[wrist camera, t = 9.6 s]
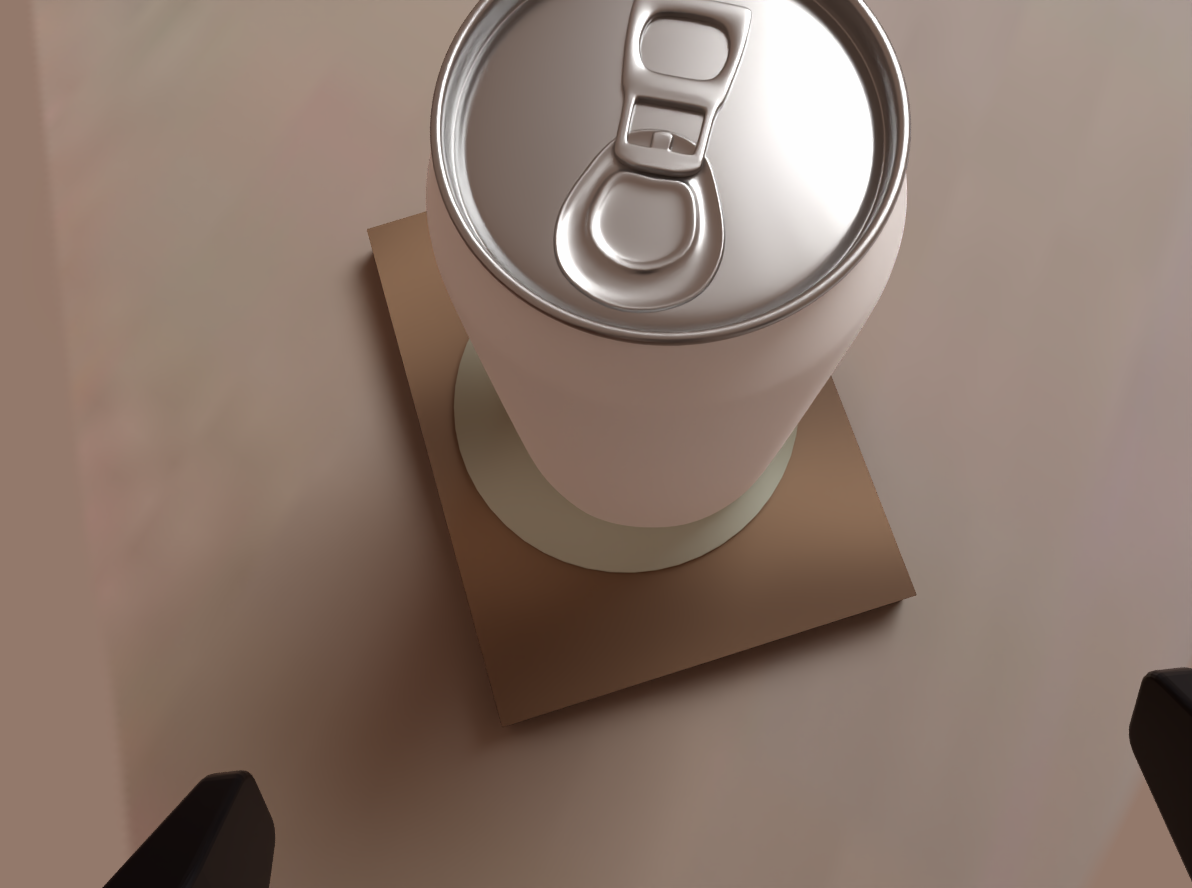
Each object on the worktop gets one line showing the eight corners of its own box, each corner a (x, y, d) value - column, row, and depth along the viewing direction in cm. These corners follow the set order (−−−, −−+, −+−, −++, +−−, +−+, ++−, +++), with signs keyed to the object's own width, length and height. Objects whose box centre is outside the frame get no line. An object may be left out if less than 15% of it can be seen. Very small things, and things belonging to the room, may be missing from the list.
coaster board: (904, 597, 22) (919, 594, 21) (507, 724, 22) (500, 727, 21) (727, 140, 25) (732, 115, 24) (377, 246, 25) (364, 225, 24)
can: (489, 500, 22) (325, 317, 10) (551, 254, 23) (470, -153, 12) (757, 559, 21) (905, 436, 10) (805, 303, 23) (985, -73, 11)
